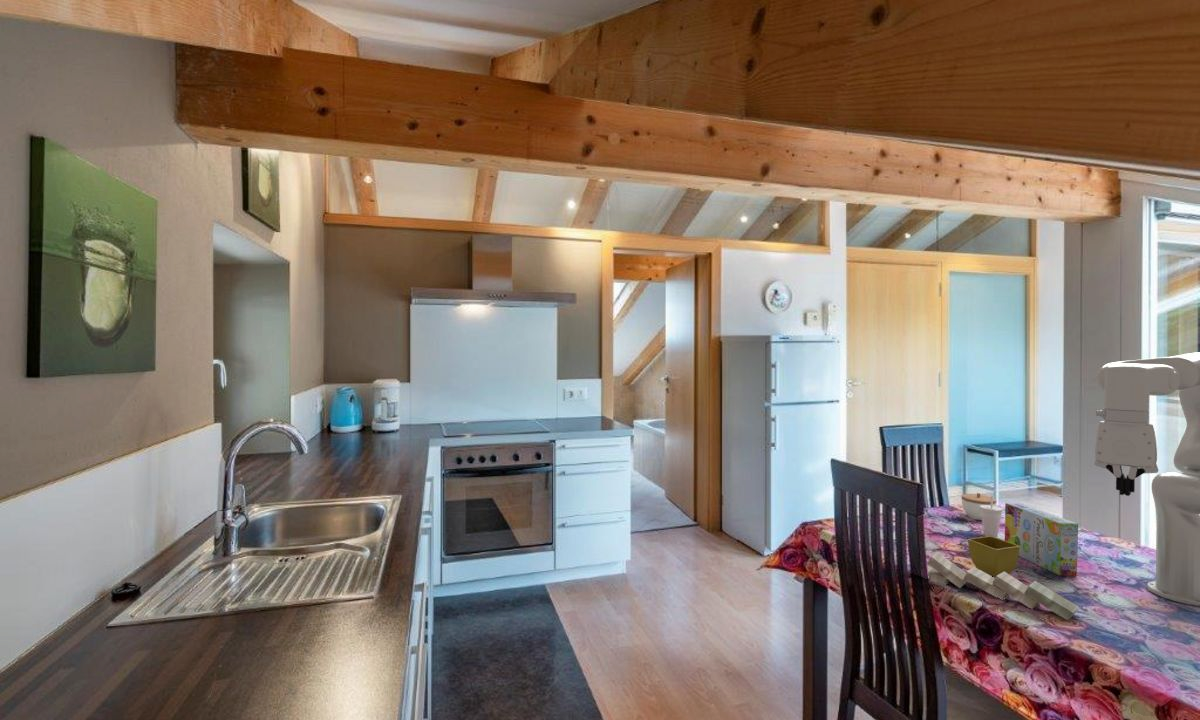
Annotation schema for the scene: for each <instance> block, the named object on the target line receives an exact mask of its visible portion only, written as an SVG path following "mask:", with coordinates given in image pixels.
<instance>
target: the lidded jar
mask: <svg viewBox="0 0 1200 720" xmlns="http://www.w3.org/2000/svg"><path fill="white" fill-rule="evenodd" d="M996 504H997V499H996V498H994V497H993V506H996V507H997V505H996ZM981 505H991V496H990V495H989V496H988V495H984V494H981V493H980V492H977V493H964V494H962V495H961V507H962V510H963V511H964V513H965V514H966V515H967V516H968V518H970V519H972V520H978V521H982V516H981V510H980V506H981Z"/></svg>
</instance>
